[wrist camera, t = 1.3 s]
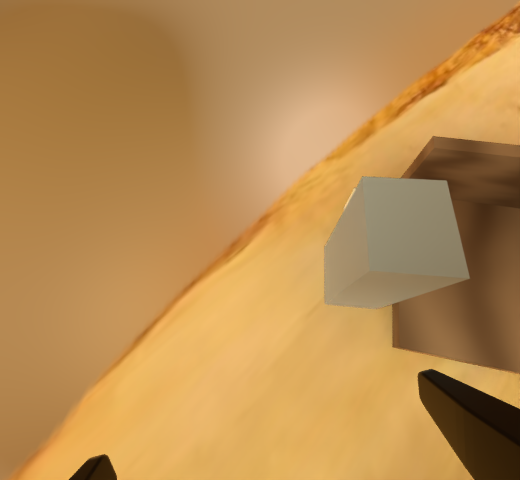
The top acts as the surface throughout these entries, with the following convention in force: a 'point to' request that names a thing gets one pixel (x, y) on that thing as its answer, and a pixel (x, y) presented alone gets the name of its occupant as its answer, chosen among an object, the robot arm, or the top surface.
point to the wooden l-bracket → (472, 259)
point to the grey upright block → (393, 243)
